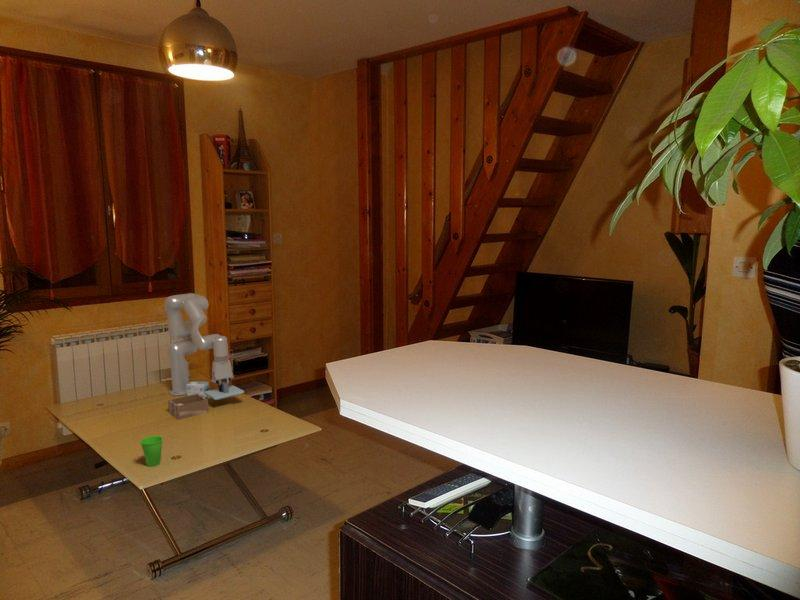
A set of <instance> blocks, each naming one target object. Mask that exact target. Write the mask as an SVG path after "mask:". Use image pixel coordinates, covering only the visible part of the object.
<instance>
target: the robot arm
mask: <svg viewBox="0 0 800 600" xmlns="http://www.w3.org/2000/svg"><path fill="white" fill-rule="evenodd" d="M209 306H210V305H209V301H208V299H207V298H206V297H205V295H201V294H197V293H192V292H189V293H182V294H175V295H170V296H167V297H166V299H165V300H164V304H163V307H164V310H165V313H166V317H167V327H168V334H169V337H170V338H171V339H173V340H175V341H173V342H170V343H169V344H168V345H167V354H168V356H169V363H170V372H171V373H170V374H171V384H172V385H171V386H172V387H171V389H172V390H170V391H169V394H170V395H171V396H184V395H185V396H187V388H186V385H187V384H189V383H190V375H189V364H188V361H187V360H186V358H185V356H188V355H193V354H195V353H196V352H197V351H198V350H200V351H207V350H210V349H213V359H214V360H213V361H212V365H211V366H212V367H211V380H210V381H211V383H216V384H217V389H219V391H220V392H223V389H222V385H221V381H222V380H224V382H226V383H228V384H229V383H230V382H231V380H233V379H234V378H235V375H234V373H233V368H232V363H231V360H230V358H231V357H232V356H231V354H229V346H228V344H229V343H228V338H227V336H225V335H220V334H219V333H213V334H208V335H204V336H202V335H201V333H200V331H199V328H200V327H202V326H203V325H204V324H205V323H206V322H207V321H208V317H207V315H206V313H205V312H204V311H206V310H208V309H209ZM181 310H184V312H185V313H186V315H187V317H188V318H189V319H188V320H186V321H184V315H183V313H182V312H181ZM178 339H180V340H178Z"/></svg>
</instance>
